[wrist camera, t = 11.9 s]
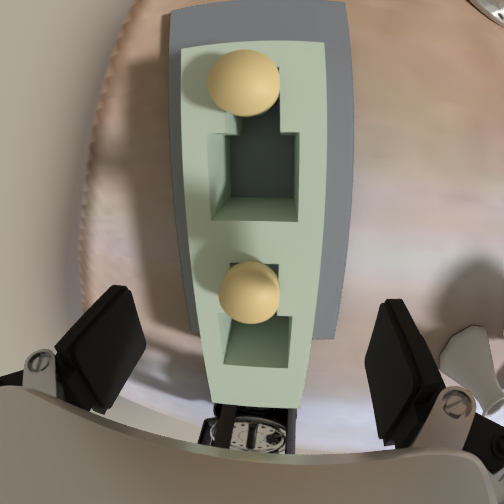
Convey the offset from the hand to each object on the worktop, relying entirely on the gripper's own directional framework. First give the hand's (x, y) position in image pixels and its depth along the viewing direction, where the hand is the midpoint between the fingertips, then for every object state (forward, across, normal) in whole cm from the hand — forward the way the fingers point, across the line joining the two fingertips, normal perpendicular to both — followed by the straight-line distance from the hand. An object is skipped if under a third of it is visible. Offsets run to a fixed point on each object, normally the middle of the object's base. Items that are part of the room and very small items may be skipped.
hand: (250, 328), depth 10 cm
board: (+13, +1, -4) cm, 13 cm away
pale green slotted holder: (+11, +1, +1) cm, 11 cm away
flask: (+13, -23, +14) cm, 30 cm away
